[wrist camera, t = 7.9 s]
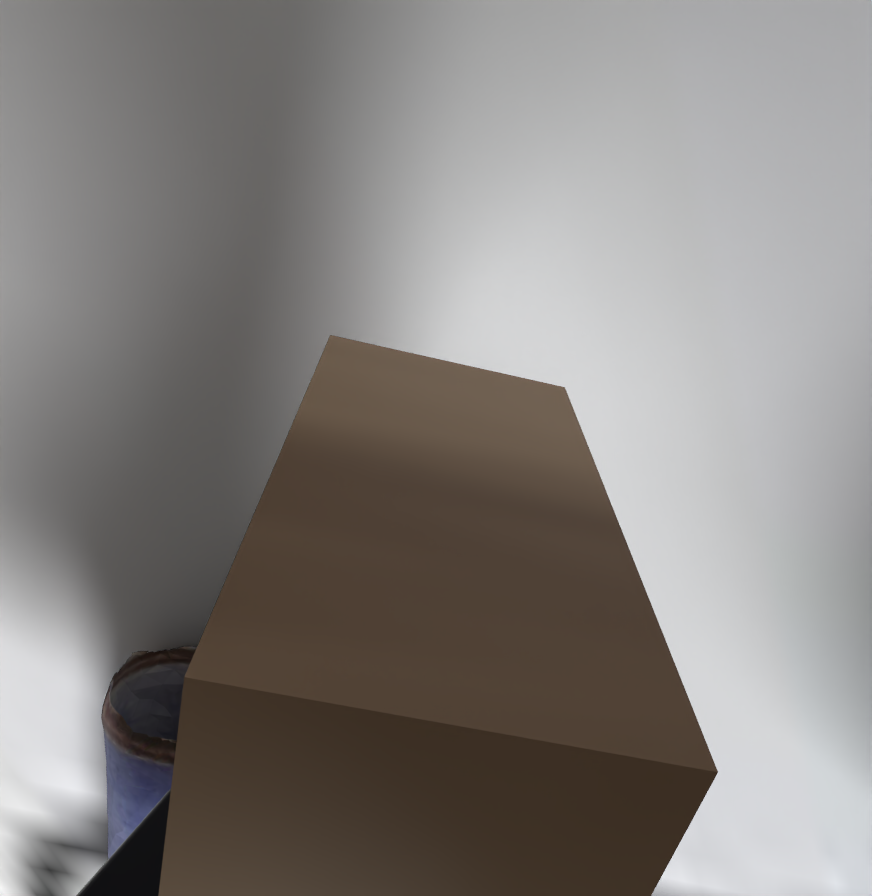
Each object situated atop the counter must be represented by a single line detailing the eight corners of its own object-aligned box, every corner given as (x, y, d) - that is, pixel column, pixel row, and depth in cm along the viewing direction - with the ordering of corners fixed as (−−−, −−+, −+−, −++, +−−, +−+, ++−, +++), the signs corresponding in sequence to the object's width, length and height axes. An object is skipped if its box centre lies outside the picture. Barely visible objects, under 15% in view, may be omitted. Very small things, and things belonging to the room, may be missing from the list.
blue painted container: (129, 630, 16) (130, 935, 21) (67, 743, 13) (84, 1061, 18) (564, 693, 17) (466, 975, 22) (585, 814, 14) (469, 1103, 19)
